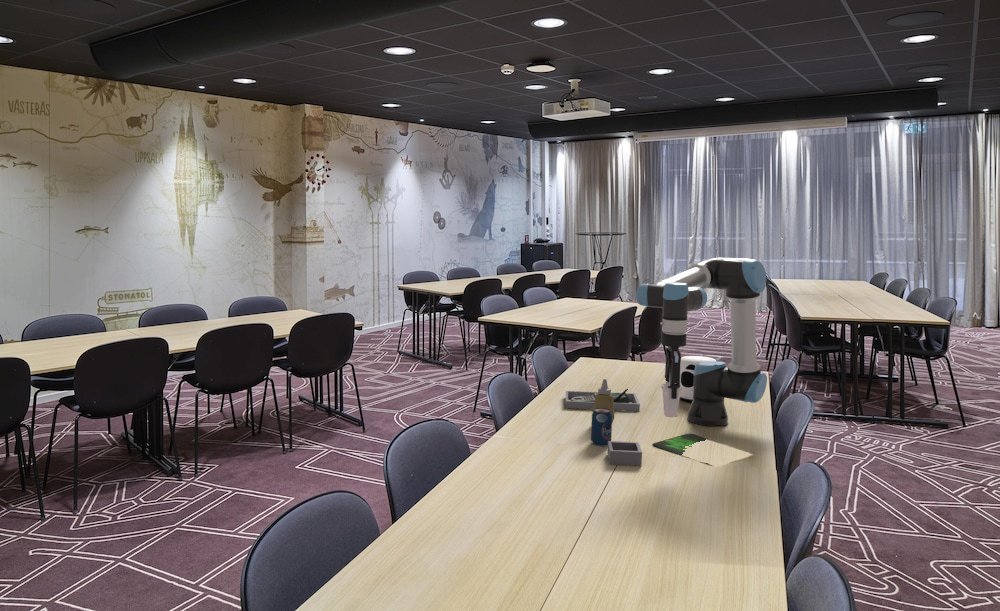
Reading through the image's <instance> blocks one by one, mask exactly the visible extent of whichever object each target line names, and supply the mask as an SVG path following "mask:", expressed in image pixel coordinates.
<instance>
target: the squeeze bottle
mask: <svg viewBox="0 0 1000 611" xmlns="http://www.w3.org/2000/svg"><path fill="white" fill-rule="evenodd" d="M597 389H598V390H597V392H598V394H597V395H596V396H595V403H594V409H595V408H607V409H610V410H611V411H610V412H611V414H612V424H613V422H614V420H615V410H614V403H613V396H612V395H611V394H610V393H612V390H611V388H610V387H609V385H608V381H607V379H606V378H603V379H602V384H601V387H599V388H597Z"/></svg>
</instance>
